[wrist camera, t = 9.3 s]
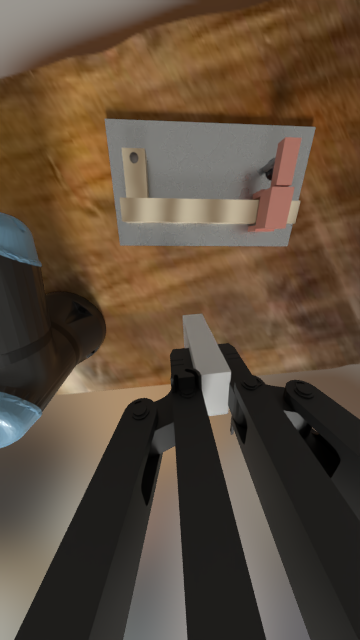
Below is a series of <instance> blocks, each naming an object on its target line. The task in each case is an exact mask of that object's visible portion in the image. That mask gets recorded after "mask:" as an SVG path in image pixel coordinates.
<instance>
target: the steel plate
mask: <svg viewBox="0 0 360 640" xmlns="http://www.w3.org/2000/svg"><path fill="white" fill-rule="evenodd" d="M105 126H106V134H107V142H108V150H109V158H110V166H111V175H112V183H113V191H114V199H115V207H116V215H117V224H118V232H119V240H120V245H148V246H288V241H289V237H290V233H291V229H292V225H293V223H292V224H286V228H284V229H274V231H271V232H248V226H255V225H256V224H203V223H126V222H123V221H122V215H121V206H120V197H122V198H127V197H126V187H125V177H124V167H123V157H122V148H145V151H146V156H147V174H148V192H149V198H177V199H231V200H252V199H253V194H254V193H256V192H258V191H260V190H262V189H268V188H270V186H271V181H272V175H273V169H274V167H273V168H272V169H270V170H269V171H267V172H264V170H263V167H264V166H265V165H266V164H267V163H269V162H270V161H271V160H273V159H274V158H275V157H276V152H277V147H278V143H279V142H280V141H282V140H283V139H284V138H285V137H294V138H302V139H301V144H300V148H299V153H298V157H297V162H296V167H295V171H294V176H293V180H292V185H290V186H288V187H295V188H294V193H293V197H292V201H298V199H299V195H300V191H301V187H302V183H303V178H304V174H305V170H306V166H307V161H308V157H309V153H310V149H311V145H312V140H313V136H314V132H315V128H316V127H303V126H278V125H252V124H227V123H201V122H176V121H150V120H125V119H105Z"/></svg>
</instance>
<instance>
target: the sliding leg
mask: <svg viewBox="0 0 360 640" xmlns="http://www.w3.org/2000/svg"><path fill="white" fill-rule="evenodd" d="M301 139H302V138H294V137H285V138H284V139H283V140H282V141H280V142H279V143H278V147H277V152H276V157H275V158H274V159H273V160H271V161H270V162H269V163H267V164H266V165H265V166H264V167H263V170H264V172H267V171H269V170H270V169H272V168H273V167H274V169H273V175H272V181H271V186H270V188H268V189H262V190H260V191H258V192H256V193H254V194H253V199H252V200H260V201H259V208H258V214H257V220H256V225H255V226H248V232H271V231H274V229H284V228H286V224H287V219H288V215H289V210H290V206H291V202H292V197H293V193H294V188H295V187H288V186H290V185H292V180H293V176H294V171H295V167H296V162H297V157H298V153H299V148H300V144H301Z"/></svg>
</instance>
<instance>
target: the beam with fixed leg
mask: <svg viewBox="0 0 360 640" xmlns="http://www.w3.org/2000/svg"><path fill="white" fill-rule="evenodd" d="M122 157H123V167H124V177H125V187H126V197H127V198H122V197H120V206H121V215H122V221H123V222H126V223H203V224H256V220H257V214H258V208H259V201H260V200H231V199H177V198H149V192H148V174H147V156H146V151H145V148H122ZM299 205H300V201H292V202H291V206H290V210H289V215H288V219H287V224H292V223H295V221H296V217H297V213H298V209H299Z"/></svg>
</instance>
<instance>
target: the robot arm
mask: <svg viewBox="0 0 360 640" xmlns="http://www.w3.org/2000/svg"><path fill="white" fill-rule="evenodd" d="M41 266H42V264H41V262H40V261H39V259H38V255H37V252H36V248H35V244H34V240H33V236H32V233H31V231H30V230H29V228H28V227H27V226H26V225H25V224H24V223H23V222H22V221H20V220H19V219H17V218H15V217H13V216H11V215H8V214H5V213H1V212H0V448H2V447H5V446H8V445H10V444H12V443H13V442H15V441H17V440H18V439H20V438H21V437H22V436H23V435H24V434H25V433H26V432H27V430H28V429H29V428H30V427H31V426H32V425H33V424H34V423H35V421H36V420H37V419H39V418H40V417H41V415H42V412H43V410H44V409H45V407H46V406H47V405H48V403H49V402H50V401H51V399H52V397H53V396H54V395H55V394H56V392H57V391H58V389H59V388H60V387H61V385H62V384H63V383H64V381H65V380H66V378H67V377H68V376H69V374H70V373H71V372H72V370H73V369H74V367H75V366H76V365H77V364H79V363H80V362H82V361H84V360H85V359H87V358H89V357H90V356H92V355H93V354H94V353H95V352H96V351H97V350H98V349H99V348H100V346H101V344H102V343H103V341H104V339H105V335H106V326H105V322H104V319H103V317H102V315H101V314H100V312H99V311H98V309H97V308H96V307H95V306H94V305H93V304H92V303H90V302H89V301H88V300H86V299H84V298H83V297H81V296H78V295H76V294H73V293H69V292H52V293H48V294H45V291H44V285H43V280H42V274H41V268H40V267H41ZM183 330H184V346H185V348H182V349H173V350H172V352H171V354H170V361H171V391H170V392H169V394H168V395H166V396H165V397H164V398H162V399H160V400H158V401H155V402H153V401H152V400H151V399H147V398H140V399H137V400H135V401H133V402H132V403H130V404H129V405H128V406H127V408H126V409H125V411H124V413H123V415H122V417H121V419H120V421H119V423H118V425H117V427H116V429H115V432H114V434H113V436H112V438H111V440H110V442H109V444H108V446H107V448H106V450H105V452H104V454H103V457H102V458H101V461H100V463H99V465H98V467H97V469H96V471H95V473H94V475H93V477H92V479H91V481H90V483H89V486H88V488H87V490H86V492H85V494H84V496H83V498H82V500H81V502H80V504H79V506H78V508H77V510H76V513H75V515H74V517H73V519H72V521H71V523H70V525H69V527H68V529H67V531H66V533H65V535H64V538H63V539H62V542H61V544H60V546H59V548H58V550H57V552H56V554H55V556H54V558H53V560H52V562H51V564H50V567H49V569H48V571H47V573H46V575H45V577H44V579H43V581H42V583H41V585H40V587H39V590H38V591H37V593H36V596H35V598H34V600H33V602H32V604H31V606H30V608H29V610H28V612H27V614H26V617H25V618H24V620H23V623H22V625H21V627H20V629H19V631H18V633H17V635H16V637H15V639H14V640H123V637H124V632H125V628H126V623H127V618H128V614H129V609H130V604H131V599H132V595H133V590H134V586H135V580H136V576H137V571H138V567H139V562H140V558H141V553H142V548H143V543H144V539H145V534H146V530H147V525H148V520H149V516H150V511H151V506H152V502H153V497H154V492H155V488H156V482H157V478H158V473H159V469H160V464H161V459H162V454H163V452H164V451H166V450H168V449H170V448H172V447H174V446H175V447H176V463H177V479H178V494H179V510H180V526H181V542H182V557H183V574H184V590H185V605H186V620H187V621H186V622H187V637H188V640H266V637H265V633H264V629H263V626H262V622H261V618H260V614H259V610H258V606H257V603H256V598H255V595H254V591H253V587H252V583H251V579H250V575H249V572H248V567H247V564H246V560H245V556H244V552H243V548H242V544H241V540H240V537H239V532H238V529H237V525H236V521H235V517H234V514H233V509H232V505H231V501H230V498H229V494H228V490H227V486H226V482H225V478H224V474H223V470H222V467H221V463H220V459H219V455H218V451H217V447H216V443H215V439H214V436H213V432H212V428H211V424H210V420H209V416H213V415H220V414H228V407H229V409H230V411H231V414H232V417H231V428H230V431H231V435H232V434H233V431H235V434H236V437H237V439H238V442H239V445H240V448H241V450H242V453H243V456H244V459H245V461H246V464H247V467H248V469H249V472H250V475H251V478H252V481H253V483H254V486H255V489H256V492H257V494H258V497H259V500H260V502H261V505H262V508H263V511H264V514H265V516H266V519H267V522H268V524H269V527H270V530H271V533H272V535H273V538H274V541H275V544H276V546H277V549H278V552H279V554H280V557H281V560H282V563H283V565H284V568H285V571H286V574H287V576H288V579H289V582H290V585H291V587H292V590H293V593H294V596H295V598H296V601H297V604H298V607H299V609H300V612H301V615H302V618H303V620H304V623H305V626H306V629H307V631H308V634H309V637H310V639H311V640H360V419H358V418H357V417H356V416H354V415H353V414H351V413H350V412H349V411H347V410H346V409H345V408H343V407H342V406H341V405H339V404H338V403H336V402H335V401H334V400H332V399H331V398H330V397H328V396H327V395H325V394H324V393H323V392H321V391H320V390H319V389H317V388H316V387H314V386H313V385H311V384H309V383H307V382H304V381H300V380H291V381H289V382H287V383H286V386H285V388H284V387H277V386H270V385H266V384H265V383H264V382H263V381H262V380H261V379H260V378H258V377H257V376H254V375H252V374H251V372H250V371H249V369H248V368H247V366H246V365H245V363H244V362H243V360H242V358H241V357H240V355H239V354H238V352H237V351H236V349H235V348H234V347H233V346H232V345H230V344H229V343H226V344H217V343H216V341H215V339H214V337H213V335H212V333H211V331H210V329H209V327H208V325H207V323H206V321H205V319H204V317H203V315H202V314H194V315H183ZM312 427H313V428H314V429H315V430H316V431H317V432H316V431H315V430H313V429H312Z"/></svg>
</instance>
